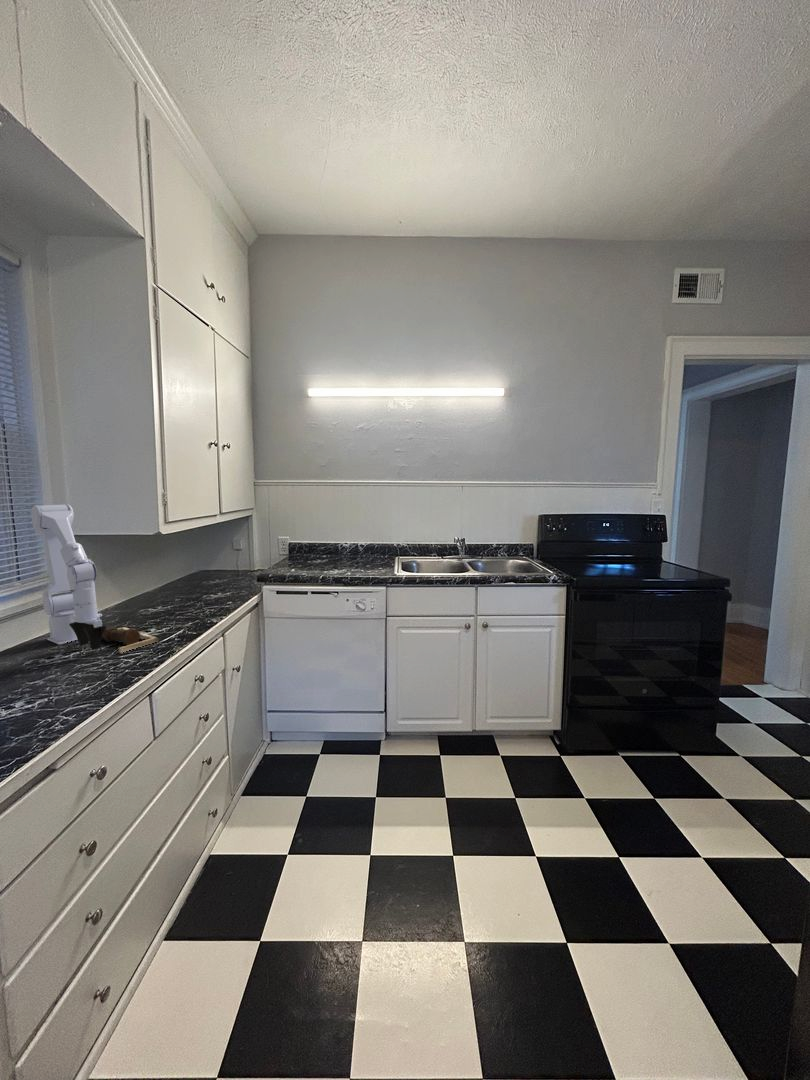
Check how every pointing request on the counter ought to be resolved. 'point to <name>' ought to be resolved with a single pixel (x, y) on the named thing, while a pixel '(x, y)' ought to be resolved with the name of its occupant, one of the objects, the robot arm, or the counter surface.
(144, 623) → the counter surface
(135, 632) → the bolt
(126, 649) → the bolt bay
